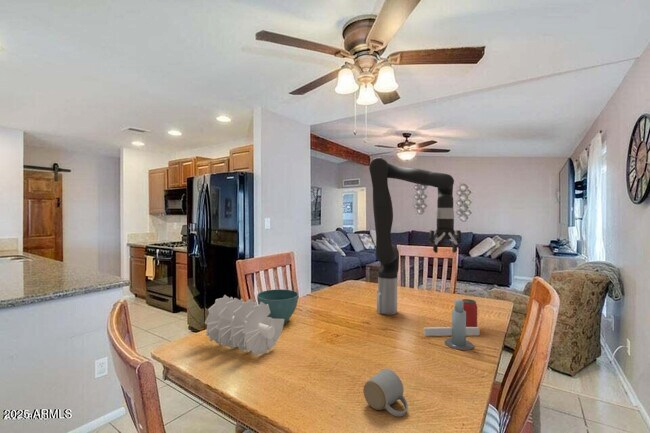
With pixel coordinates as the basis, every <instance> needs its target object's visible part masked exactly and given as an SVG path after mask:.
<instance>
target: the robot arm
mask: <svg viewBox="0 0 650 433" xmlns="http://www.w3.org/2000/svg"><path fill="white" fill-rule="evenodd" d="M368 170H369V174H370V178H371V184H372V207H373V208H372V210H373V218H374V228H375V257H376V259H377V260H378V262H379V263H380V267H379V270H378V271H377V284H378V285H377V291H376V310H377V312H378V314H380V315H390V316H391V315H395V314H397V313H398V274H399V269H400V268H399V267H400V265H399V264H400V252H399V249H398V247H397V246H396V245H395V244H393V243H392V227H393V221H394V211H393V201H392V196H391V193H390V189H389V184H388V180H389V179H395V180H401V181H404V182H408V183H412V184H416V185H421V186H426V187H434V188H437V204H436V207H437V209H436V229H435V230H433V229H431V230H429V237H428V242H429V244H432V250H433V252H434V253H436V254H437V253H438V250H439V249H438V248H439V247H438V244H439V242H440V241H441V240H443V241H444V240H447V241H448V240H449V241H451V243H452V248H451V249H452V253H455V254H456V252H457V251H458V245H459V244H461V243H462V231H461V230H459V229H457V230H455V226H454V225H455V211H454V197H453V195H454V194H453V193H454V192H453V191H454V184H455V180H454V177H453V176H452V175H451V174H448V173H445V172H444V173H443V172H437V171H436V172H434V171H430V170H426V169H421V168H414V167H405V166H404V167H403V166H400V165H395V164H392V163H390V162H388V161H387V160H386V159H385V158H383V157H380V156H379V157H374V158H373V159H371V161H370V162H369V169H368ZM435 235H436V237H435ZM454 235H456V238H455V237H454ZM434 238H435V239H434Z"/></svg>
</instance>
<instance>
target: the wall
mask: <svg viewBox="0 0 650 433" xmlns="http://www.w3.org/2000/svg"><path fill="white" fill-rule="evenodd" d="M423 336H424V337H440V336H441V337H443V336H444V337H447V336H448V337H450V336H451V337H452V326H451V327H450V326H446V327H443V326H442V327H441V326H440V327H439V326H434V327H423ZM466 336H480V327H479V326H477V327H466Z"/></svg>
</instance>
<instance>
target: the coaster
mask: <svg viewBox="0 0 650 433" xmlns="http://www.w3.org/2000/svg"><path fill="white" fill-rule="evenodd" d="M444 344H445V345H446V347H448V348H449V349H450V348H451V349H454V350H458V351H470V350H473V349H474V348H475V344H474V343H473V342H471V341H469V340H467V339H466V345H465V346H456V345H454V344H452V337H449V338H446V339H445V340H444Z"/></svg>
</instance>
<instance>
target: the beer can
mask: <svg viewBox="0 0 650 433" xmlns="http://www.w3.org/2000/svg"><path fill="white" fill-rule="evenodd" d="M462 300H463V310H464V311H466V327H478V305H477V301H476V300H475V299H468V298H467V299H466V298H465V299H462Z"/></svg>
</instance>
